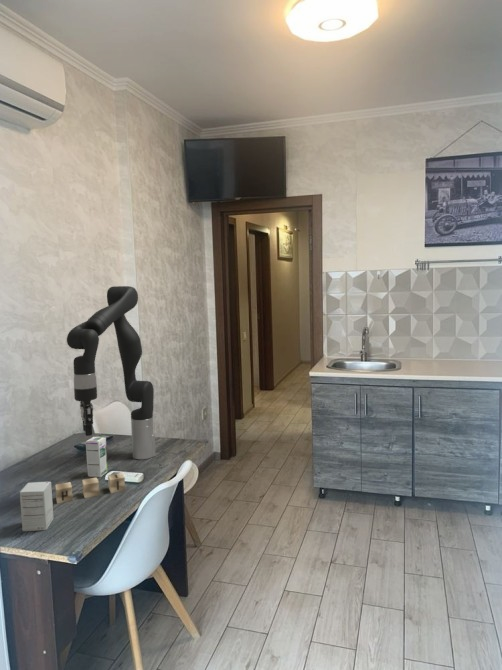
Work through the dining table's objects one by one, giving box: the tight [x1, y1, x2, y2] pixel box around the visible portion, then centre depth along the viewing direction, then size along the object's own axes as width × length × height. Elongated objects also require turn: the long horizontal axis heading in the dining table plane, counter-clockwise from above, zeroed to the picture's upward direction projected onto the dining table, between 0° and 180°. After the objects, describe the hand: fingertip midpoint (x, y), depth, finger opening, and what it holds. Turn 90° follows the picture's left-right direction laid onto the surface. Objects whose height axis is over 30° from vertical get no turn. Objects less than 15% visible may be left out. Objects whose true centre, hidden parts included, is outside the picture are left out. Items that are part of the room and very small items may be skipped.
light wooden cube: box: [55, 481, 74, 505], centre depth 170 cm, size 5×5×5 cm
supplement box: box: [19, 481, 54, 532], centre depth 151 cm, size 7×7×13 cm
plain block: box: [81, 477, 100, 499], centre depth 174 cm, size 5×5×5 cm
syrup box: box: [85, 436, 109, 478], centre depth 191 cm, size 6×6×14 cm
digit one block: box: [107, 472, 126, 494], centre depth 177 cm, size 5×5×5 cm
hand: (87, 432), depth 171 cm, fingers open, 5 cm apart
